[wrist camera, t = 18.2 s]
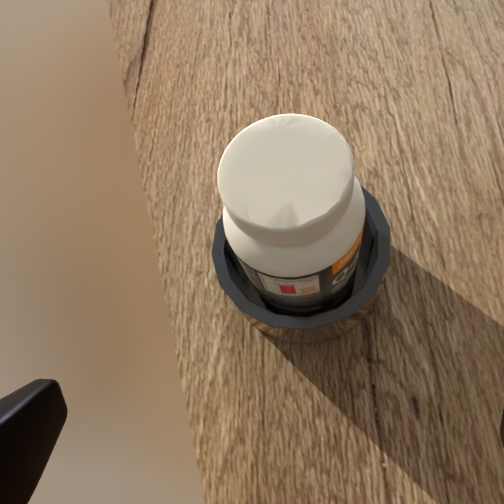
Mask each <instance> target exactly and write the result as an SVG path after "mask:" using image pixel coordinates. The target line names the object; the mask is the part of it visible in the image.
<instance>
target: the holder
mask: <svg viewBox="0 0 504 504" xmlns="http://www.w3.org/2000/svg"><path fill="white" fill-rule="evenodd" d="M360 186H361V185H360ZM361 189H362V192H363V195H364V198H365V221H364V226H363V233H362V241H361V246H360V252H359V258H358V267H357V272H356V276H355V280H354V282H353V285H352V287H351V289H350V291H349V292H348V294H347V295H346V296H345V297H344V299H343V300H342V301H341V302H340V303H338V304H337V305H336V306H335V307H333V308H332V309H330V310H328V311H325V312H322V313H319V314H316V315H313V316H307V317H302V316H291V315H288V314H284V313H281V312H280V311H278V310H276V309H274V308H272V307H271V306H270V305H269V304H267V303H266V302H265V301H264V300H263V299H262V297H261V296H260V295H259V294H258V292H257V291H256V289H255V288H254V286H253V285H252V282H251V281H250V279H249V277H248V276H247V274H246V272H245V271H244V269H243V267H242V265H241V264H240V262H239V260H238V258H237V256H236V255H235V253H234V251H233V249H232V248H231V246H230V244H229V242H228V240H227V238H226V235H225V230H224V225H223V213H222V214H221V216H220V218H219V219H218V221H217V223H216V228H215V234H214V241H213V247H212V258H213V262H214V266H215V270H216V274H217V278H218V282H219V284H220V286H221V287H222V289H223V290H224V291H225V292H226V294H227V295H228V296H229V297H230V299H231V300H232V301H233V302H234V304H235V305H236V306H237V307H238V309H239V310H240V311H241V312H242V313H243V315H244V316H245V317H246V318H247V320H248V321H249V322H250V323H251V324H252V325H253V326H254V327H256V328H258V329H259V330H261V331H262V332H264V333H265V334H267V335H269V336H271V337H273V338H276V339H278V340H281V341H285V342H290V343H296V344H312V343H320V342H324V341H328V340H331V339H333V338H336V337H338V336H340V335H342V334H344V333H346V332H348V331H349V330H350V329H352V328H353V327H354V326H356V325H357V324H358V323H359V322H360V321H361V320H362V319H363V318H364V316H366V315H367V314H368V312H369V311H370V309H371V307H372V305H373V303H374V301H375V298H376V296H377V294H378V292H379V290H380V288H381V286H382V283H383V280H384V278H385V275H386V272H387V269H388V267H389V263H390V227H389V225H388V223H387V221H386V218H385V216H384V214H383V212H382V210H381V208H380V206H379V203H378V201H377V200H376V199H375V198H374V197H373V196H372V195H371V194H370V193H369V192H368V191H367V190H365V189H364V188H363V187H362V186H361Z"/></svg>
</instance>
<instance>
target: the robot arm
mask: <svg viewBox="0 0 504 504" xmlns="http://www.w3.org/2000/svg"><path fill="white" fill-rule="evenodd" d="M66 418H67V406H66V403H65V400H64V397H63V394H62V391H61V388H60V385H59V383H58V382H57V381H56V380H53V379H37V380H34V381H33V382H31V383H29V384H27V385H25V386H24V387H22V388H20V389H18V390H16V391H15V392H13V393H11V394H9V395H8V396H6V397H4V398H2V399H0V504H28V502H29V500H30V498H31V496H32V494H33V492H34V490H35V489H36V486H37V484H38V482H39V480H40V478H41V476H42V474H43V471H44V469H45V467H46V464H47V462H48V460H49V458H50V455H51V453H52V451H53V448H54V446H55V444H56V441H57V439H58V437H59V435H60V433H61V430H62V428H63V426H64V423H65V421H66ZM500 434H501V440H502V443H503V446H504V410H503V415H502V421H501V426H500Z"/></svg>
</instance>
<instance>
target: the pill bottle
mask: <svg viewBox="0 0 504 504" xmlns="http://www.w3.org/2000/svg"><path fill="white" fill-rule="evenodd" d="M217 182H218V189H219V192H220V196H221V198H222V201H223V203H224V208H223V225H224V230H225V235H226V238H227V240H228V242H229V244H230V246H231V248H232V249H233V251H234V253H235V255H236V256H237V258H238V260H239V262H240V264H241V265H242V267H243V269H244V271H245V272H246V274H247V276H248V277H249V279H250V281H251V282H252V285H253V286H254V288H255V289H256V291H257V292H258V294H259V295H260V296H261V297H262V299H263V300H264V301H265V302H266V303H267V304H269V305H270V306H271V307H272V308H274V309H276V310H278V311H280V312H281V313H284V314H288V315H291V316H302V317H307V316H313V315H316V314H319V313H322V312H325V311H328V310H330V309H332V308H333V307H335V306H336V305H337V304H338V303H340V302H341V301H342V300H343V299H344V297H345V296H346V295H347V294H348V292H349V291H350V289H351V287H352V285H353V282H354V280H355V276H356V272H357V267H358V258H359V252H360V246H361V241H362V233H363V226H364V221H365V198H364V195H363V192H362V189H361V186H360V184H359V182H358V180H357V178H356V177H355V166H354V160H353V155H352V152H351V150H350V147H349V145H348V144H347V142H346V140H345V139H344V137H343V136H342V135H341V134H340V133H339V132H338V131H337V130H336V129H335V128H333V127H332V126H331V125H329V124H327V123H326V122H324V121H322V120H319V119H317V118H314V117H311V116H306V115H300V114H283V115H276V116H272V117H268V118H265V119H262V120H260V121H258V122H255V123H253V124H252V125H250V126H248V127H247V128H245V129H244V130H242V131H241V132H240V133H239V134H238V135H237V136H236V137H235V138H234V139H233V140H232V141H231V143H230V144H229V145H228V147H227V148H226V150H225V152H224V154H223V156H222V158H221V161H220V164H219V167H218V176H217Z"/></svg>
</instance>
